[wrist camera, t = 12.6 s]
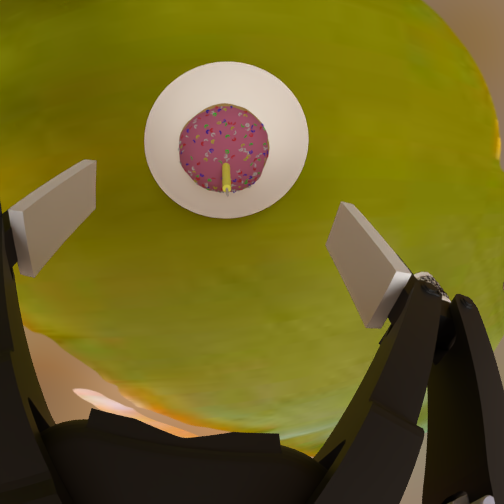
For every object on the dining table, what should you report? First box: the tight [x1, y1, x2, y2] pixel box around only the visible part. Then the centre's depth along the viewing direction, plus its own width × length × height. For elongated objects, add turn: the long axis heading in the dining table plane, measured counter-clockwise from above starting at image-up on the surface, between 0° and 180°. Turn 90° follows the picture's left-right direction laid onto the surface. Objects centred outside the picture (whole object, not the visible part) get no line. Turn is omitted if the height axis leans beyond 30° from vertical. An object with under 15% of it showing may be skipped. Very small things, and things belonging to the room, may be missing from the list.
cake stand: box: [144, 62, 308, 218], centre depth 34 cm, size 18×18×8 cm
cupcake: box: [178, 103, 270, 197], centre depth 25 cm, size 9×8×12 cm
